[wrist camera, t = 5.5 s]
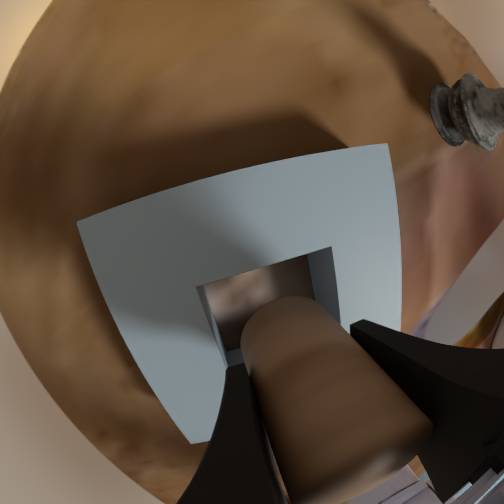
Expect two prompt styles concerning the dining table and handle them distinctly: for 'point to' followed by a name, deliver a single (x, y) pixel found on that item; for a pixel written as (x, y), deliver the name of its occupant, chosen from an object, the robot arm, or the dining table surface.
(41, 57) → the dining table surface
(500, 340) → the cylinder vase
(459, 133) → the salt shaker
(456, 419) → the robot arm
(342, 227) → the socket block
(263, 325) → the walnut peg
